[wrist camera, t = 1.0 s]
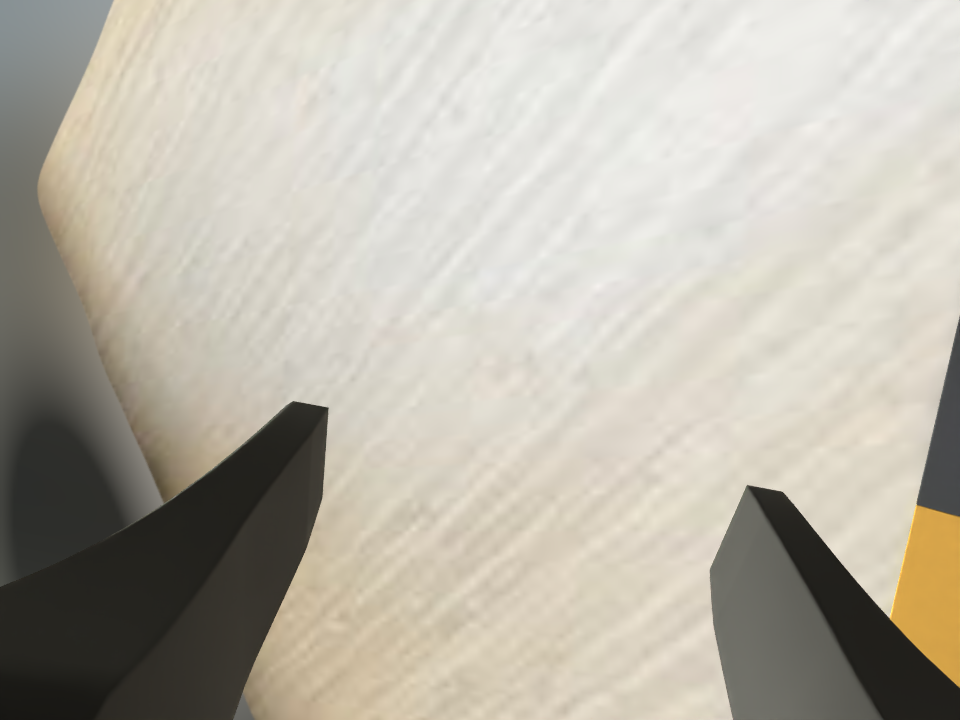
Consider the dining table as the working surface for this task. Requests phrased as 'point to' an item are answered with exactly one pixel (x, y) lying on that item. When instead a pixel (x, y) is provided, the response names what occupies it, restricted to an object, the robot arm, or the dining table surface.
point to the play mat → (936, 541)
